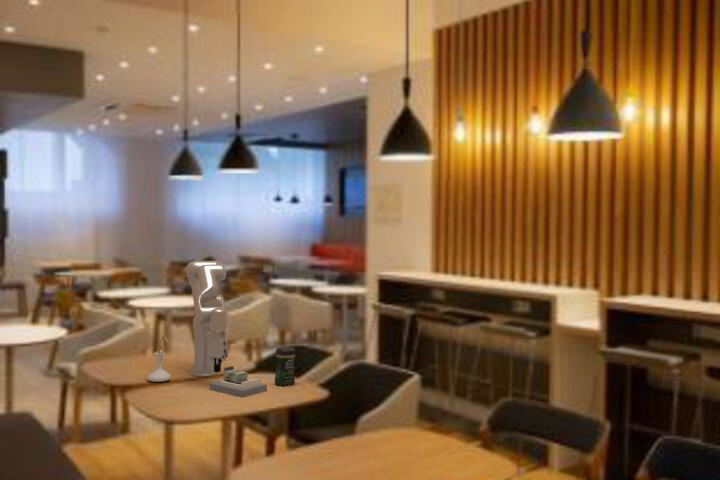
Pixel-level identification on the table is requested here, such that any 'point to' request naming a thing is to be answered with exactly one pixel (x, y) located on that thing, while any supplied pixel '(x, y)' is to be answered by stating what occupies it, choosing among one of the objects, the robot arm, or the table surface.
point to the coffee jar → (285, 366)
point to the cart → (234, 375)
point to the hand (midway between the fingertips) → (217, 371)
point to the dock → (239, 387)
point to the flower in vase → (159, 366)
